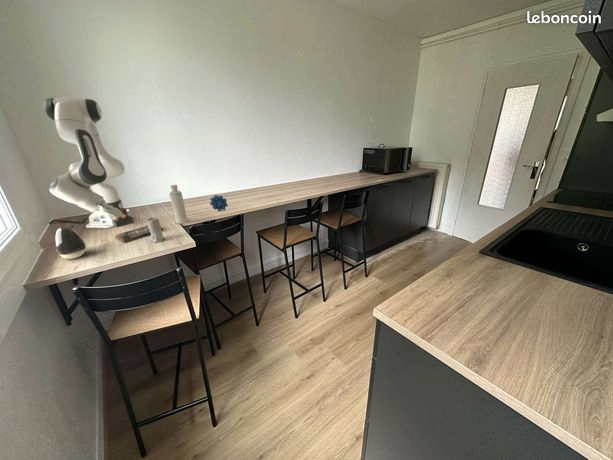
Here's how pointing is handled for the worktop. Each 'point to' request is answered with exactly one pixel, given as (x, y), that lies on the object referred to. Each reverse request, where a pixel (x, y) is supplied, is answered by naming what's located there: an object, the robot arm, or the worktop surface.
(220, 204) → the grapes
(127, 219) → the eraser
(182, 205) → the white bottle
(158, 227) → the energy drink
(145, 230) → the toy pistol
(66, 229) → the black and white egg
